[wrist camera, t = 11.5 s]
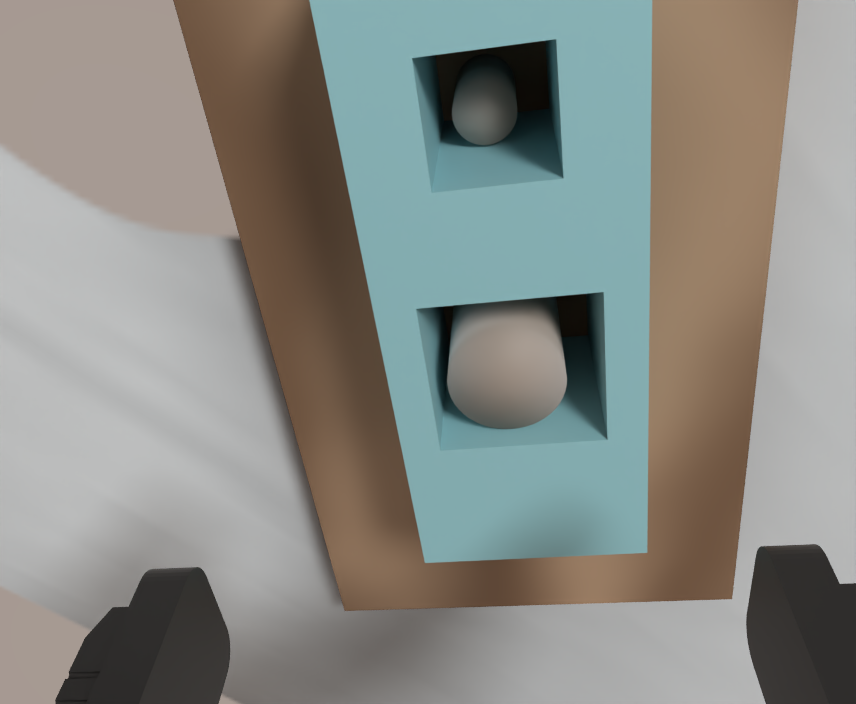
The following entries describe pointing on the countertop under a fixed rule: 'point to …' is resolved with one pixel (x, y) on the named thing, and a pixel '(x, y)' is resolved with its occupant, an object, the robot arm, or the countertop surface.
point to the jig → (515, 319)
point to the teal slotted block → (506, 259)
